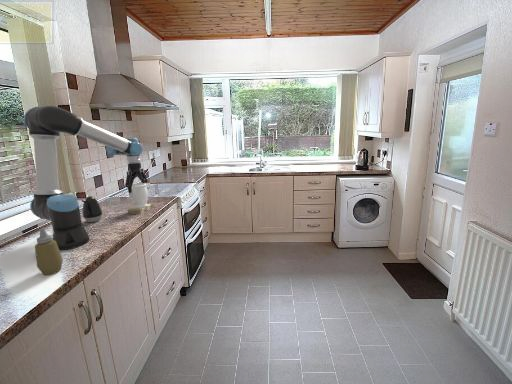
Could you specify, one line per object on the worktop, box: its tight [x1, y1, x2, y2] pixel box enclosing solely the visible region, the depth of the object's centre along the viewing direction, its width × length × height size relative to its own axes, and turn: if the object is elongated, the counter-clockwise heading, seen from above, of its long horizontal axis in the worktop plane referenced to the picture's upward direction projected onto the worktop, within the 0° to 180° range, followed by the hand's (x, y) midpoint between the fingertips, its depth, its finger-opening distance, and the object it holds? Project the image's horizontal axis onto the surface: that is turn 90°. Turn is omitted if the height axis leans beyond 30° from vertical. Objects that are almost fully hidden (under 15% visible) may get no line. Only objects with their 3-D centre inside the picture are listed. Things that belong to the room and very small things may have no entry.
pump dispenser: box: [81, 195, 103, 223], centre depth 162 cm, size 10×10×15 cm
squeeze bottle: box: [34, 227, 63, 276], centre depth 105 cm, size 8×8×18 cm
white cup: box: [131, 182, 149, 208], centre depth 180 cm, size 11×10×15 cm
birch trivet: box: [127, 203, 154, 215], centre depth 182 cm, size 14×9×2 cm, turn 168°
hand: (138, 194), depth 179 cm, fingers open, 13 cm apart
